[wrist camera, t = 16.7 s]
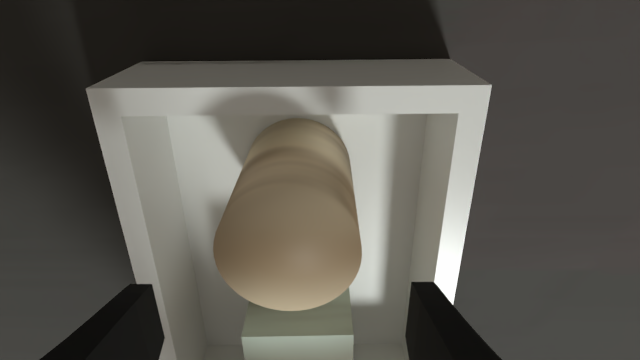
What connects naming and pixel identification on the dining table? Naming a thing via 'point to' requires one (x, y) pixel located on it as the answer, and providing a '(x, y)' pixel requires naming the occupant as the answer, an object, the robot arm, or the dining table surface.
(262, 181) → the wooden cylinder
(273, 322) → the sage cube
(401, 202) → the box
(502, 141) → the dining table surface
